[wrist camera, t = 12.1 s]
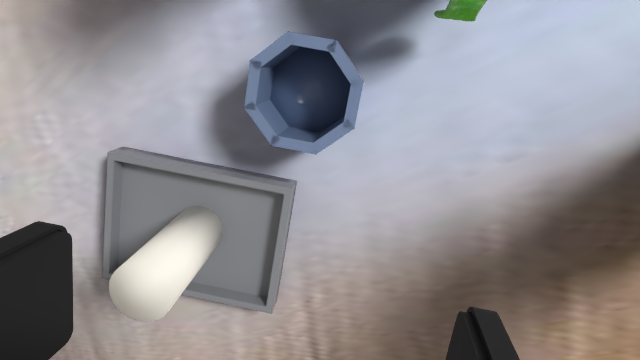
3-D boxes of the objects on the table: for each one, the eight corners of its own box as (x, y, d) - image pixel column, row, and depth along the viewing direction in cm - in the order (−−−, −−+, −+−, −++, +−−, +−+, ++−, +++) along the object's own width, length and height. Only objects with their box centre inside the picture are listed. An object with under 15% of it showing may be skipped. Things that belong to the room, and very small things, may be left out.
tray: (296, 180, 38) (292, 188, 36) (276, 299, 41) (271, 313, 39) (123, 146, 39) (107, 152, 37) (117, 265, 42) (102, 277, 40)
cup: (369, 49, 35) (370, 46, 29) (350, 146, 37) (348, 160, 31) (271, 31, 35) (254, 24, 29) (258, 128, 37) (239, 140, 32)
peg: (226, 211, 38) (176, 271, 28) (219, 255, 40) (169, 327, 29) (178, 201, 39) (110, 256, 28) (173, 245, 40) (107, 313, 29)
